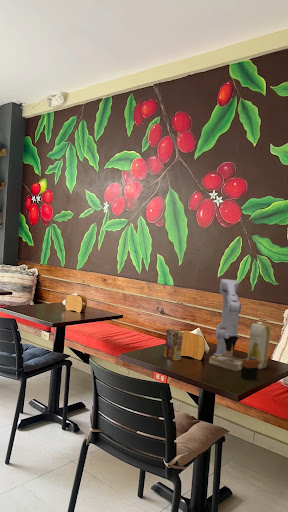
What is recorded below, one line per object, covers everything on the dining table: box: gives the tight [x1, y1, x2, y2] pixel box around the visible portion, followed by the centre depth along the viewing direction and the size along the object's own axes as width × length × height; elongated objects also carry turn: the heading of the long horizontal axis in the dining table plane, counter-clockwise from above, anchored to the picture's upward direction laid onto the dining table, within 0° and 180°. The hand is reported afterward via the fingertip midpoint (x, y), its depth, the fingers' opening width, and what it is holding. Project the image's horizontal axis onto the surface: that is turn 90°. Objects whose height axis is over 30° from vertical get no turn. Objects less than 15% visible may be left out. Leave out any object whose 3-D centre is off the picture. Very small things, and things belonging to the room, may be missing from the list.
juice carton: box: [247, 321, 271, 370], centre depth 225 cm, size 9×8×24 cm
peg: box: [226, 344, 234, 356], centre depth 221 cm, size 4×4×8 cm
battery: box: [240, 357, 259, 381], centre depth 202 cm, size 4×7×10 cm, turn 119°
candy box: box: [164, 328, 184, 362], centre depth 225 cm, size 9×4×15 cm, turn 39°
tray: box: [208, 354, 244, 372], centre depth 221 cm, size 13×16×4 cm
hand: (229, 350), depth 221 cm, fingers closed on peg, 4 cm apart
